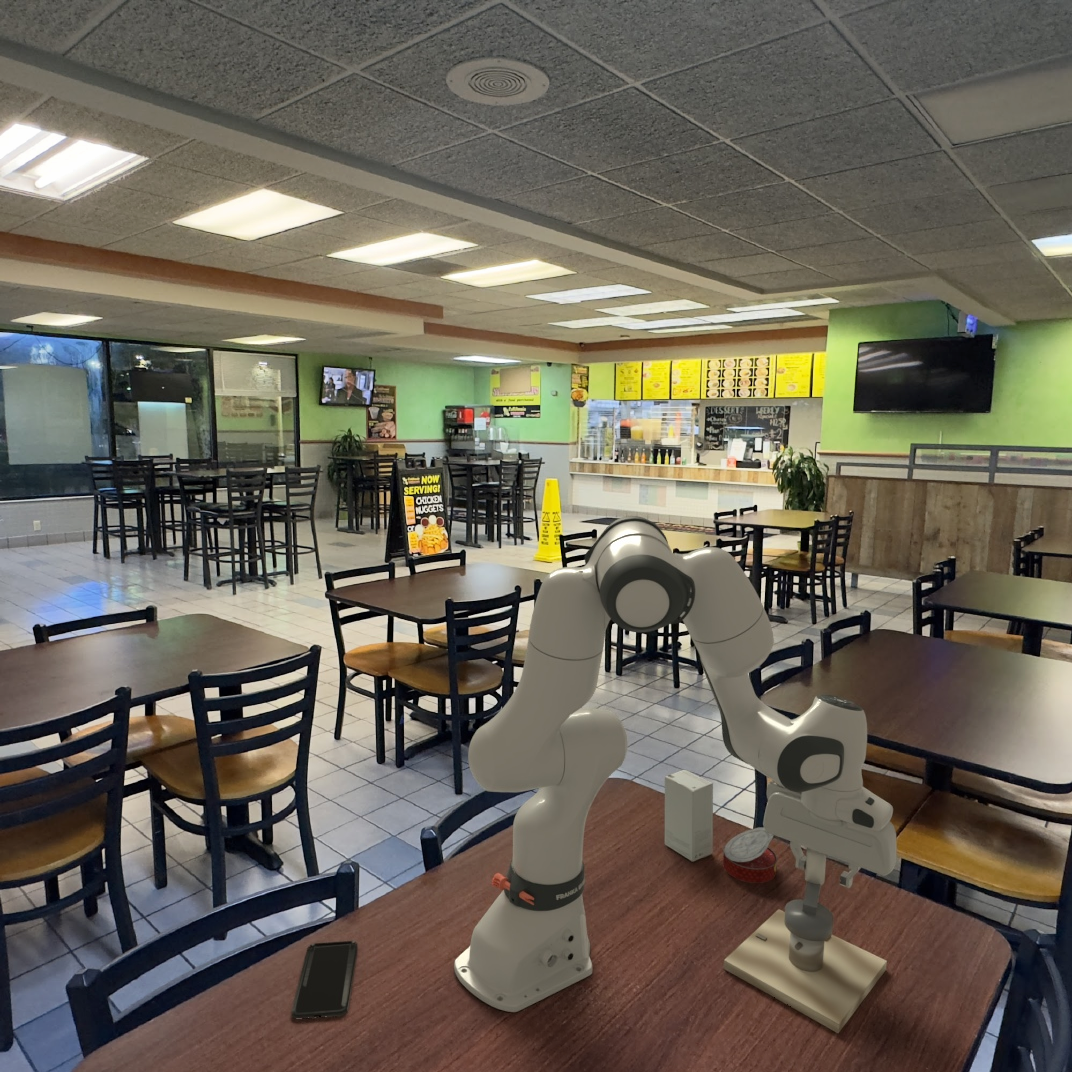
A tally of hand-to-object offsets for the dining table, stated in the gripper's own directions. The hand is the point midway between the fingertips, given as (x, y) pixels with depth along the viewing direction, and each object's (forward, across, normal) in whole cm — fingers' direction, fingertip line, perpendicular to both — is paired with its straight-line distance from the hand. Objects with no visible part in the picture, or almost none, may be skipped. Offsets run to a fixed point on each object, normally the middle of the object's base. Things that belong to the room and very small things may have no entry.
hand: (823, 876), depth 123 cm
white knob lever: (+5, 0, -4) cm, 6 cm away
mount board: (+12, +1, -7) cm, 14 cm away
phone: (+14, -54, -57) cm, 79 cm away
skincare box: (+12, -30, +11) cm, 34 cm away
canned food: (+12, -18, +13) cm, 25 cm away
